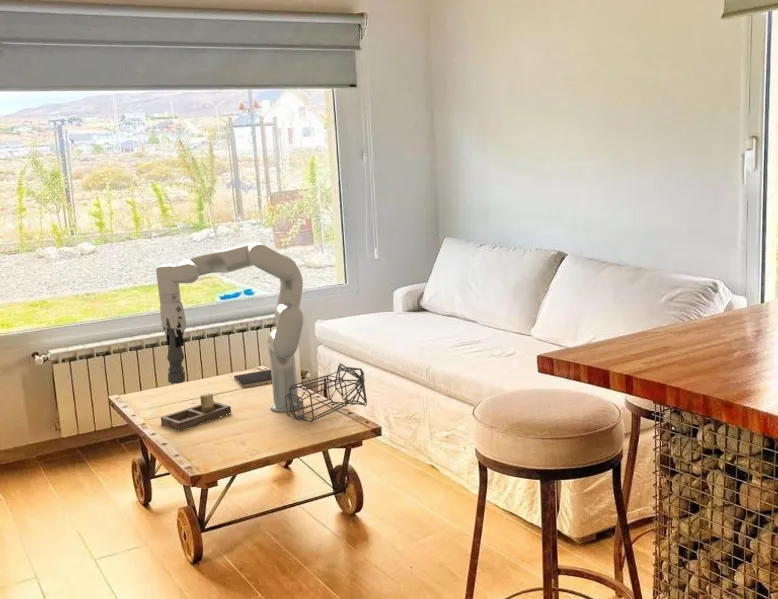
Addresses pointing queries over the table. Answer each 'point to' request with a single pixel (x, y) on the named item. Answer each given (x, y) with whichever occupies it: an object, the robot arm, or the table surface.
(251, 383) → the hardcover book
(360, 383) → the geometric lantern
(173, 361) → the candle holder
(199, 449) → the table surface
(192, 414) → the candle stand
